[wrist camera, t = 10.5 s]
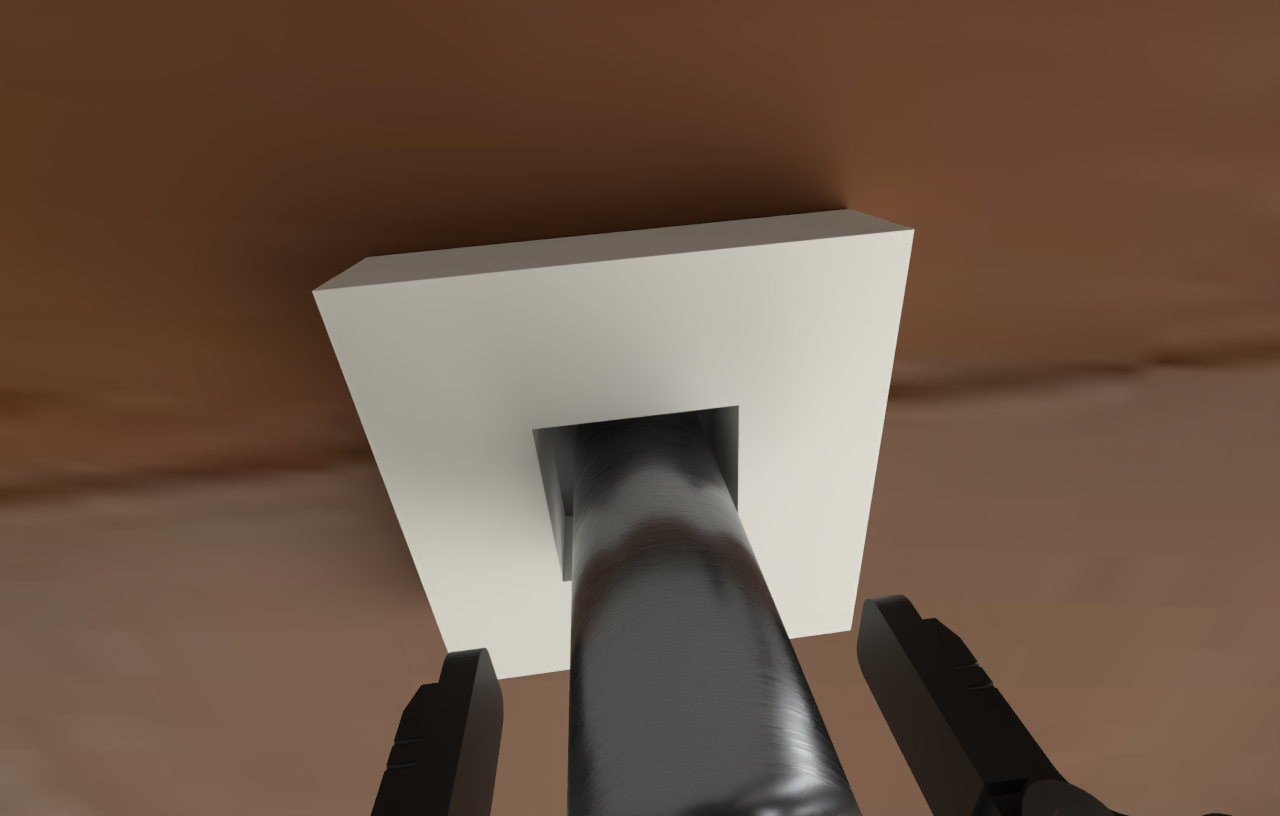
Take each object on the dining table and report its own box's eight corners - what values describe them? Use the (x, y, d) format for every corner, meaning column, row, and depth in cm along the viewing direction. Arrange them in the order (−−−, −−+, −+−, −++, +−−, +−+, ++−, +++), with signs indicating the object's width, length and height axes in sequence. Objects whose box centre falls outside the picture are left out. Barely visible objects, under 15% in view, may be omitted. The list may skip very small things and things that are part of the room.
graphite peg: (699, 376, 18) (883, 751, 7) (703, 485, 20) (848, 904, 9) (566, 391, 17) (542, 802, 7) (583, 500, 19) (586, 947, 9)
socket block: (849, 209, 16) (914, 229, 13) (813, 560, 22) (850, 630, 19) (367, 257, 15) (312, 290, 12) (477, 605, 22) (460, 684, 19)
